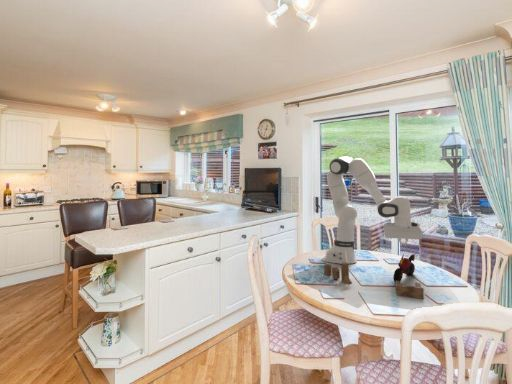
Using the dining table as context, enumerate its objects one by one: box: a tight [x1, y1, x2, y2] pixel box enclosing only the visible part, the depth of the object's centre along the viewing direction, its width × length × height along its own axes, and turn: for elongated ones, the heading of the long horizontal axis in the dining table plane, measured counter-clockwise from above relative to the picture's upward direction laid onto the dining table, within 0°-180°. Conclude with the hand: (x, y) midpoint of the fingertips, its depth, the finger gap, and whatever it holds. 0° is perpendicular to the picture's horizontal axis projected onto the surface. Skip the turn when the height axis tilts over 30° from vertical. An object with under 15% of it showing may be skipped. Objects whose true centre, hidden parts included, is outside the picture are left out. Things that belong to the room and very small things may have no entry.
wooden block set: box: [323, 262, 353, 286], centre depth 153 cm, size 18×9×10 cm, turn 36°
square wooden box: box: [395, 281, 424, 300], centre depth 135 cm, size 11×11×5 cm
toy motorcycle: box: [392, 253, 416, 283], centre depth 156 cm, size 25×5×16 cm, turn 129°
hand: (403, 245), depth 165 cm, fingers closed
